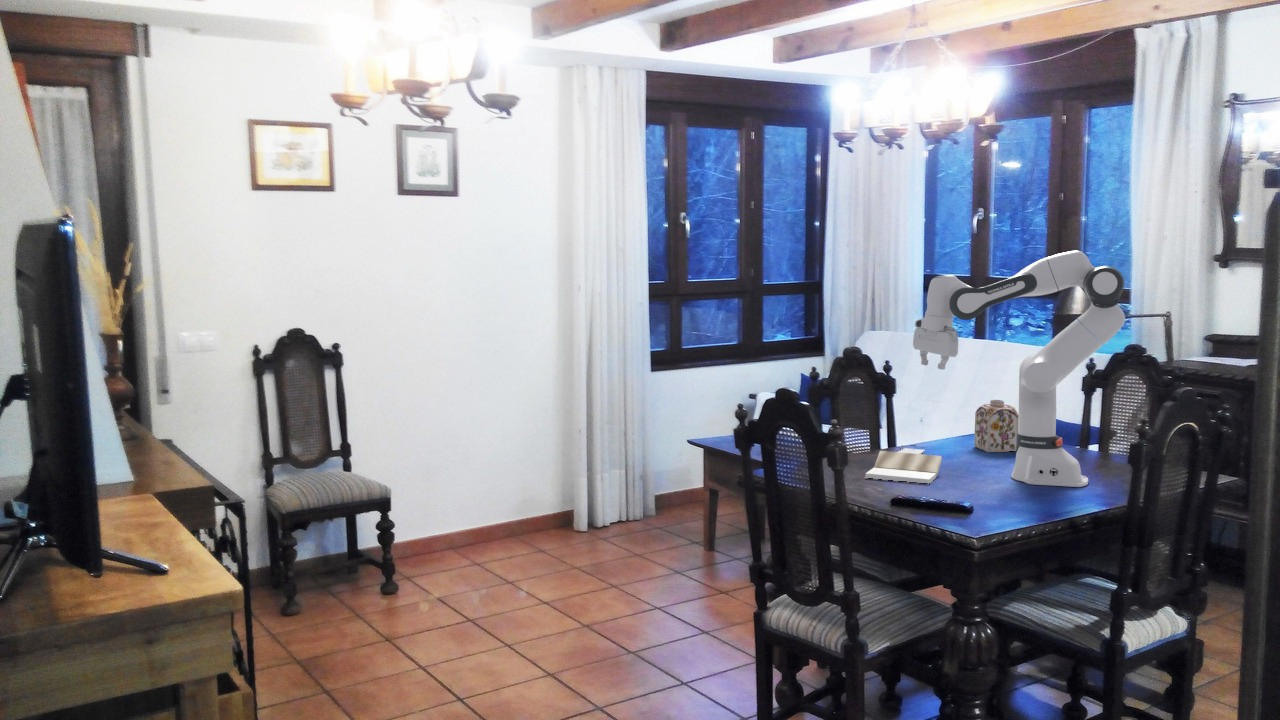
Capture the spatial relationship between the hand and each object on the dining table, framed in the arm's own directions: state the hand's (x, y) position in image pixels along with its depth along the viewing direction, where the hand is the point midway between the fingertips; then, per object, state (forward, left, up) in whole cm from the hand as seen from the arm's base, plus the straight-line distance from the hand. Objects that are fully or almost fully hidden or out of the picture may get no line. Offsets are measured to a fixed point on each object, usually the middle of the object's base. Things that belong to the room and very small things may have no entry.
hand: (932, 367), depth 335 cm
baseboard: (+14, -16, -35) cm, 41 cm away
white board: (+6, +15, -34) cm, 38 cm away
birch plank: (+6, +6, -32) cm, 33 cm away
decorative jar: (-13, -47, -35) cm, 60 cm away
